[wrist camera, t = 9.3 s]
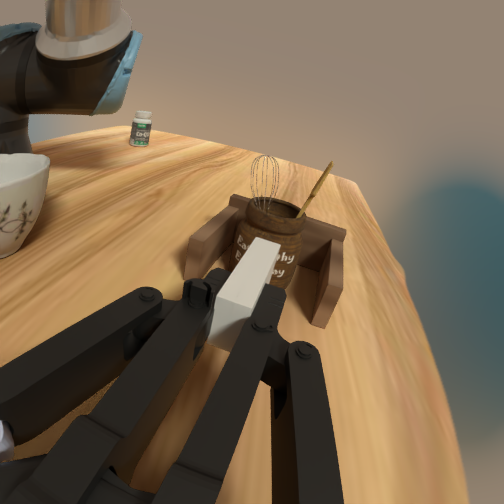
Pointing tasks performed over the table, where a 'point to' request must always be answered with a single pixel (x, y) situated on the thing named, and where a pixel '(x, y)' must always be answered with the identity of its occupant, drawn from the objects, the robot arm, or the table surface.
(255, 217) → the utensil holder
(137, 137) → the pill bottle
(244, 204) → the walnut corral
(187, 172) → the table surface
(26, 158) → the teacup
